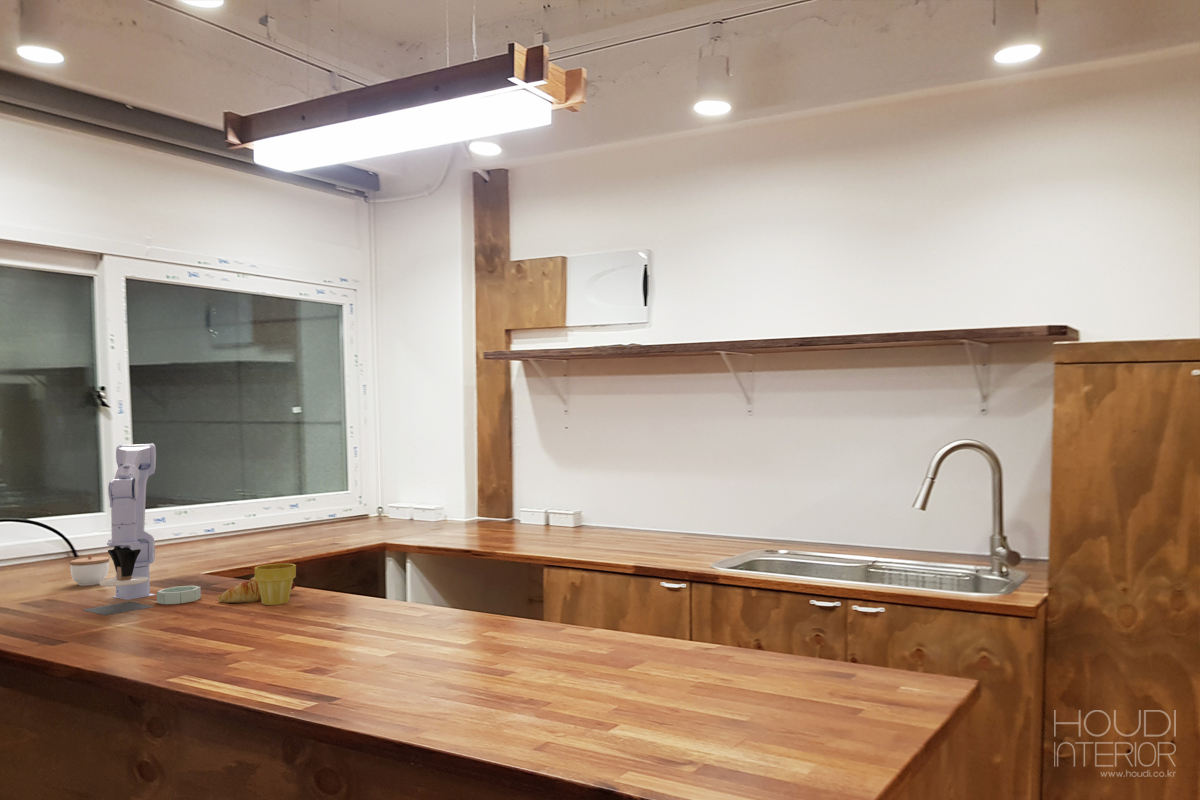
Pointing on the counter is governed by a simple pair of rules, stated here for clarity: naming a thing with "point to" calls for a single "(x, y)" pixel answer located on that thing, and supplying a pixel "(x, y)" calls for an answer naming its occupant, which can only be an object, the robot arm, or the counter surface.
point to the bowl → (178, 594)
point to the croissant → (243, 592)
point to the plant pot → (275, 582)
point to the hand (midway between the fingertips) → (124, 575)
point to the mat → (117, 608)
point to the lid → (123, 580)
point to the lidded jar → (89, 570)
